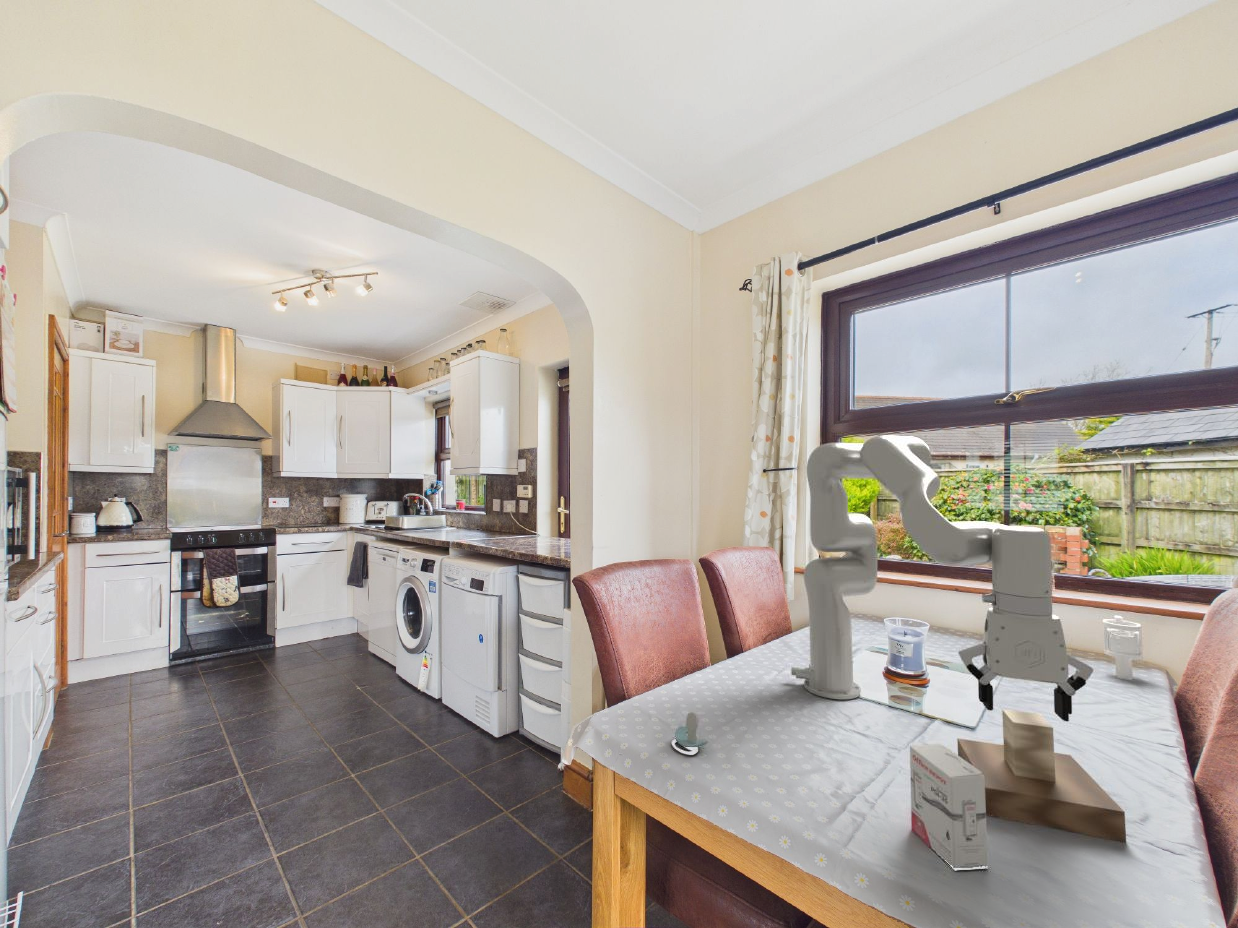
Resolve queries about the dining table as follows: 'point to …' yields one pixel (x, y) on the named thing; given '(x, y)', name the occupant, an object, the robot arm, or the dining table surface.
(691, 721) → the pacifier
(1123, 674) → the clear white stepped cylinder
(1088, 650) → the dining table surface
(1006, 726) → the birch block
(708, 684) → the dining table surface
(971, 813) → the ink box
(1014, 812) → the walnut base
